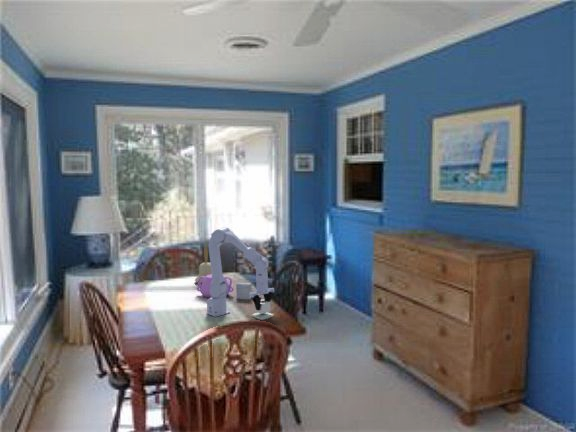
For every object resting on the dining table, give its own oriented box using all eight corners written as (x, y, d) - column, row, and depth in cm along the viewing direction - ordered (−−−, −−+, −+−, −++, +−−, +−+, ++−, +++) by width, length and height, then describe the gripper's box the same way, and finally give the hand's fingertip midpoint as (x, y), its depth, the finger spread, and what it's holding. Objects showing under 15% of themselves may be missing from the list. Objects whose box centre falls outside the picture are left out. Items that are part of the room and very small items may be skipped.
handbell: (199, 286, 294) (197, 247, 292) (191, 281, 308) (190, 243, 305) (222, 283, 302) (220, 245, 299) (214, 278, 315) (212, 241, 313)
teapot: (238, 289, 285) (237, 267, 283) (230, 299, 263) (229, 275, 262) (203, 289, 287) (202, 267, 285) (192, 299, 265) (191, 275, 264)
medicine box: (252, 297, 267) (251, 283, 266) (249, 300, 262) (249, 284, 262) (239, 297, 269) (239, 282, 268) (236, 299, 265) (236, 284, 264)
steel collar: (262, 313, 229) (261, 304, 228) (254, 311, 233) (254, 301, 232) (270, 311, 233) (270, 301, 232) (263, 309, 237) (263, 299, 236)
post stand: (261, 319, 227) (261, 309, 227) (251, 316, 233) (251, 305, 233) (273, 316, 233) (273, 305, 232) (263, 312, 239) (263, 302, 238)
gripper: (256, 286, 223) (256, 313, 225) (278, 280, 233) (278, 307, 235) (246, 283, 228) (247, 310, 230) (268, 278, 238) (269, 304, 240)
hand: (262, 308), depth 233 cm, fingers closed on steel collar, 5 cm apart
